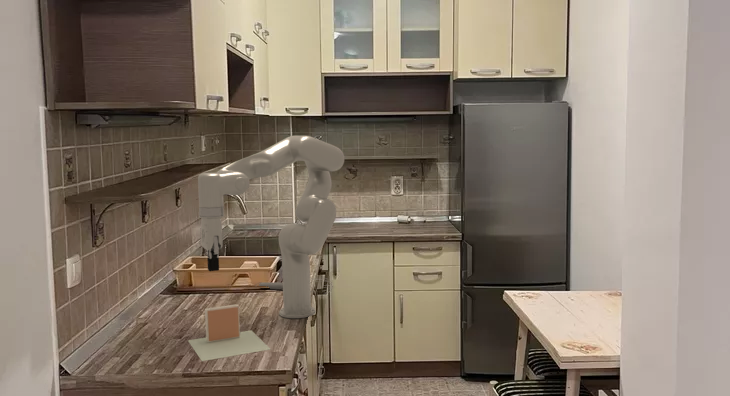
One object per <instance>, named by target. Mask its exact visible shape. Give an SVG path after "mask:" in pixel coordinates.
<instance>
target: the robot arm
mask: <svg viewBox="0 0 730 396" xmlns="http://www.w3.org/2000/svg"><path fill="white" fill-rule="evenodd" d="M299 161H300V162H302V161H303V162H304V164H305V166H306V170H307V173H308V180H307V184H306V186H305V188H304V190H303V192H302V194H301V196H300V199H299V201H298V202H297V205H296V206H295V211H294V214H295V217H296V218H297V220H299V221H300V222H302V223H306V224H301V223H296V222H295V223H293V222H292V223H286V224H285V225H284V226H283V227H281V229H280V231H279V234H278V244H279V250H280V254H281V265H282V266H281V267H282V269H281V270H282V273H281V274H282V283H283V289H282V297H283V299H282V301H283V307H282V308H280V309H279V312H278V313H279V314H278V315H279V316H281V317H282V318H286V319H305V318H308V317H312V316H314V315H315V314H316V312H317V311H316V308H315V307H313V306H312V300H311V299H312V298H311V294H312V292H311V291H312V290H311V263H310V262H311V261H310V257H309V255H310V256H312V255H316V254H317V253H318V252H320V250H321V249H322V248H323V246H324V244H325V242H326V240H327V239H328V237H329V234H330V232H331V230H332V228H333V225H334V223H335V220H336V217H337V207H336V205H335V203H334V202H333V201H332V200H331V199H330V198H329V195H330V193H331V190H332V185H333V184H332V177H331V174H330V172H336V171H339V170H341V168H342V167H343V165H344V164H345V155H344V152H343V151H342V150H341V149H340V147H338V146H335V145H333V144H331V143H329V142H326V141H323V140H321V139H318V138H315V137H313V136H310V135H291V136H287V137H285V138H284V139H281V140H280V141H278V142H276V143H275V144H273V145H271V146H269V147H267V148H265V149H263V150H261V151H259V152H257V153H254V154H251V155H249V156H246V157H243V158H241V159H239V160H236V161H234V162H232V163H230V164H228V165H226V166H224V167H222V168H221V169H219V170H218V171H216V172H203V173H200V174H199V175H198V177H197V188H198V190H197V191H198V217H199V219H200V246H201V247H202V248H203V249H204V250H206V253H207V258H206V259H207V271H209V272H217V271H219V270H220V257H219V255H220V254H219V253H220V252H219V250H222V248H223V243H224V242H223V224H222V218H224V217H225V209H224V208H225V205H224V201H225V200H224V196H225V195H229V196H239V195H243V194H245V193H246V192H247V191H248V190H249V188H250V183H251V182H250V180H253V179H259V178H265V177H269V176H274V175H275V174H277V173H279V172H280V171H282V170H283V169H285V168H287V167H289V166H290V165H293V164H294V163H296V162H299Z"/></svg>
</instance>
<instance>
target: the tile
mask: <svg viewBox="0 0 730 396" xmlns="http://www.w3.org/2000/svg"><path fill="white" fill-rule="evenodd" d="M204 317H205V338H206V341H207V342H213V341H219V340H226V339H232V338H238V337H240V332H241V326H240V306H239V304H238V303H237V304H229V305H222V306H214V307H208V308H204Z"/></svg>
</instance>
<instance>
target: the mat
mask: <svg viewBox="0 0 730 396" xmlns="http://www.w3.org/2000/svg"><path fill="white" fill-rule="evenodd" d="M187 342H188V343H189V345H190V346H191V348H192V349H193V351H194V352H195V353H196V355H197V356H198V358H199V359H200V361H201V362H206V361H211V360H216V359H217V360H218V359H224V358H228V357H235V356H240V355H246V354H251V353H252V354H253V353H257V352H263V351H268V350H271V348H270V346H269V345H267V344H266V342H264V341H263V340H262V339H261V337H259V336H258V335H257V334H256V333H255V332H254V331H253V330H251V329H250V330H244V331H240V337H238V338H232V339H226V340H219V341H213V342H207V341H206V337H200V338H195V339H189V340H188V339H187Z"/></svg>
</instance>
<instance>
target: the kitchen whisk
mask: <svg viewBox="0 0 730 396" xmlns="http://www.w3.org/2000/svg"><path fill="white" fill-rule="evenodd" d="M312 280H313V281H314V280H316V281H314V283H315V282H317V283H318V282H320V281H323V278H317V277H315V278H312ZM317 280H318V281H317ZM324 280H325V282H327V283H330V285H329V284H327V286H325V287H324V288H325V290H323V292H324V294H328V293H330V292H331V290H332V289H333V287H334V283H333V282H332V281H331V280H330V279H328V278H326V277H324ZM257 285H258V287H259V286H266V287H267V286H268V287H269V288H270V289H269V290H283V282H257V283H255V286H257ZM327 287H329V288H328V289H326V288H327ZM328 290H329V291H328ZM325 291H326V292H325ZM311 293H313V290H311Z"/></svg>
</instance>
